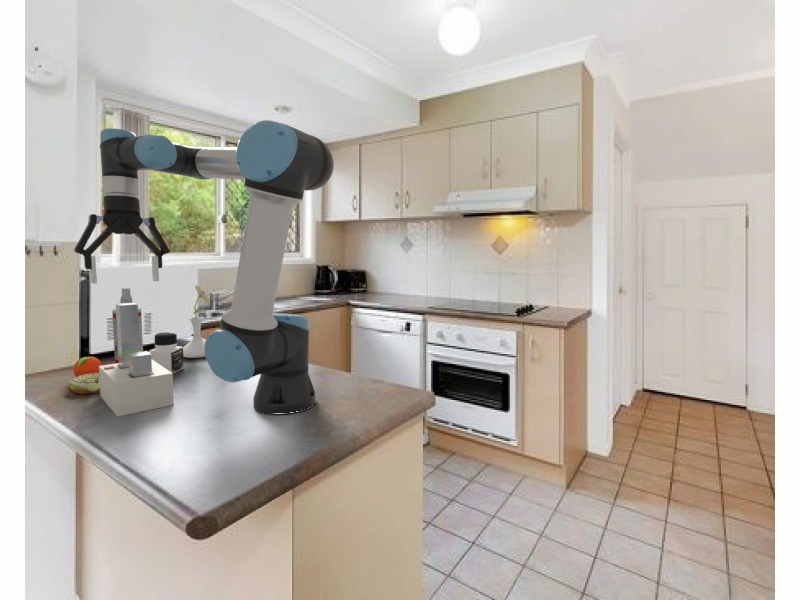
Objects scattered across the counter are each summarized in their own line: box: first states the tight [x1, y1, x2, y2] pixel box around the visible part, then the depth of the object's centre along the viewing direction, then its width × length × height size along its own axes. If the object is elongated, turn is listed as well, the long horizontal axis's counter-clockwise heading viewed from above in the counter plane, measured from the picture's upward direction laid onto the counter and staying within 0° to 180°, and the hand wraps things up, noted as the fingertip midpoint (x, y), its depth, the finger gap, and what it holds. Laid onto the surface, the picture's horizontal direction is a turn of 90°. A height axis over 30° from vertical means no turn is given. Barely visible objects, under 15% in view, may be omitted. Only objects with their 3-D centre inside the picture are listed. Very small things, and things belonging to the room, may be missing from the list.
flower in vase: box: [182, 284, 211, 359], centre depth 156 cm, size 13×11×25 cm
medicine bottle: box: [148, 331, 185, 375], centre depth 138 cm, size 7×7×12 cm
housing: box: [99, 359, 175, 418], centre depth 112 cm, size 12×18×8 cm, turn 44°
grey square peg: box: [128, 350, 152, 378], centre depth 108 cm, size 4×4×13 cm
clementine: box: [72, 355, 103, 377], centre depth 126 cm, size 8×7×7 cm
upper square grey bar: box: [115, 302, 140, 369], centre depth 114 cm, size 4×4×18 cm
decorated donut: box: [68, 373, 100, 395], centre depth 120 cm, size 10×11×4 cm
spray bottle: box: [111, 287, 144, 364], centre depth 142 cm, size 8×8×25 cm
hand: (126, 282), depth 112 cm, fingers open, 13 cm apart
